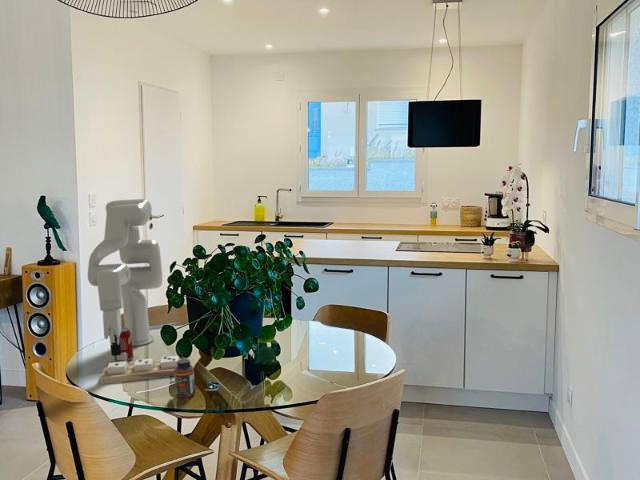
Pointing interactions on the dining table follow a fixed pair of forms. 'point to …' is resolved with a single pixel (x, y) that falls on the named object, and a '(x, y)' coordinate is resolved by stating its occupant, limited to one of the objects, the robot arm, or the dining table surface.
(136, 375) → the board
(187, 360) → the supplement bottle
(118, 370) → the tile
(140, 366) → the tile
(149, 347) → the dining table surface
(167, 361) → the tile
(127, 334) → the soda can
